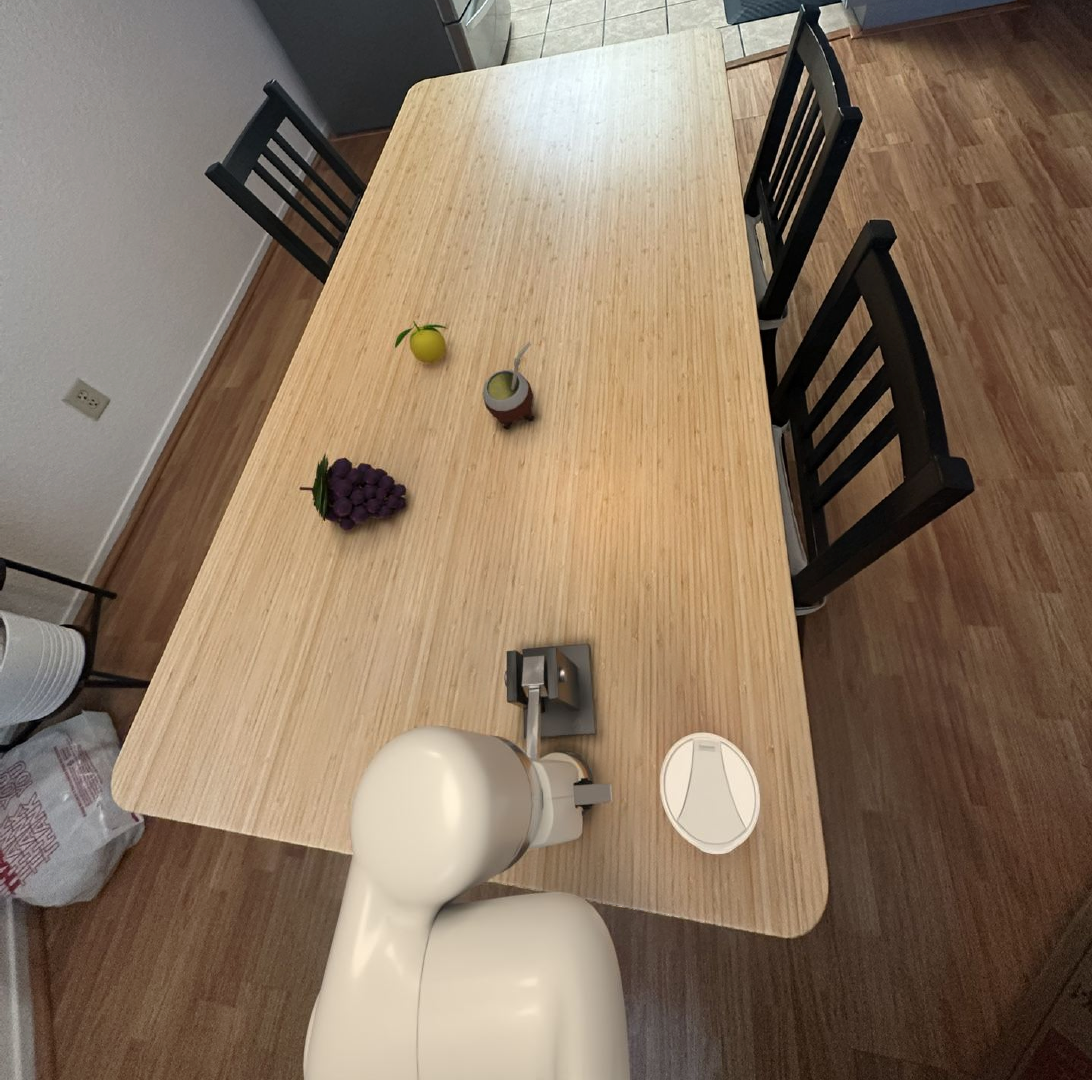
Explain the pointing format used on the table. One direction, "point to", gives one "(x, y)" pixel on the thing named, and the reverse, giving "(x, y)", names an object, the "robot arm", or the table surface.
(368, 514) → the fruit
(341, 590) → the table surface
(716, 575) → the table surface
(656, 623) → the table surface
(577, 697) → the lever base stand
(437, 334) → the lemon
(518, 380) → the mate gourd
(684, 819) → the coffee cup
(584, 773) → the cake
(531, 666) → the lever
